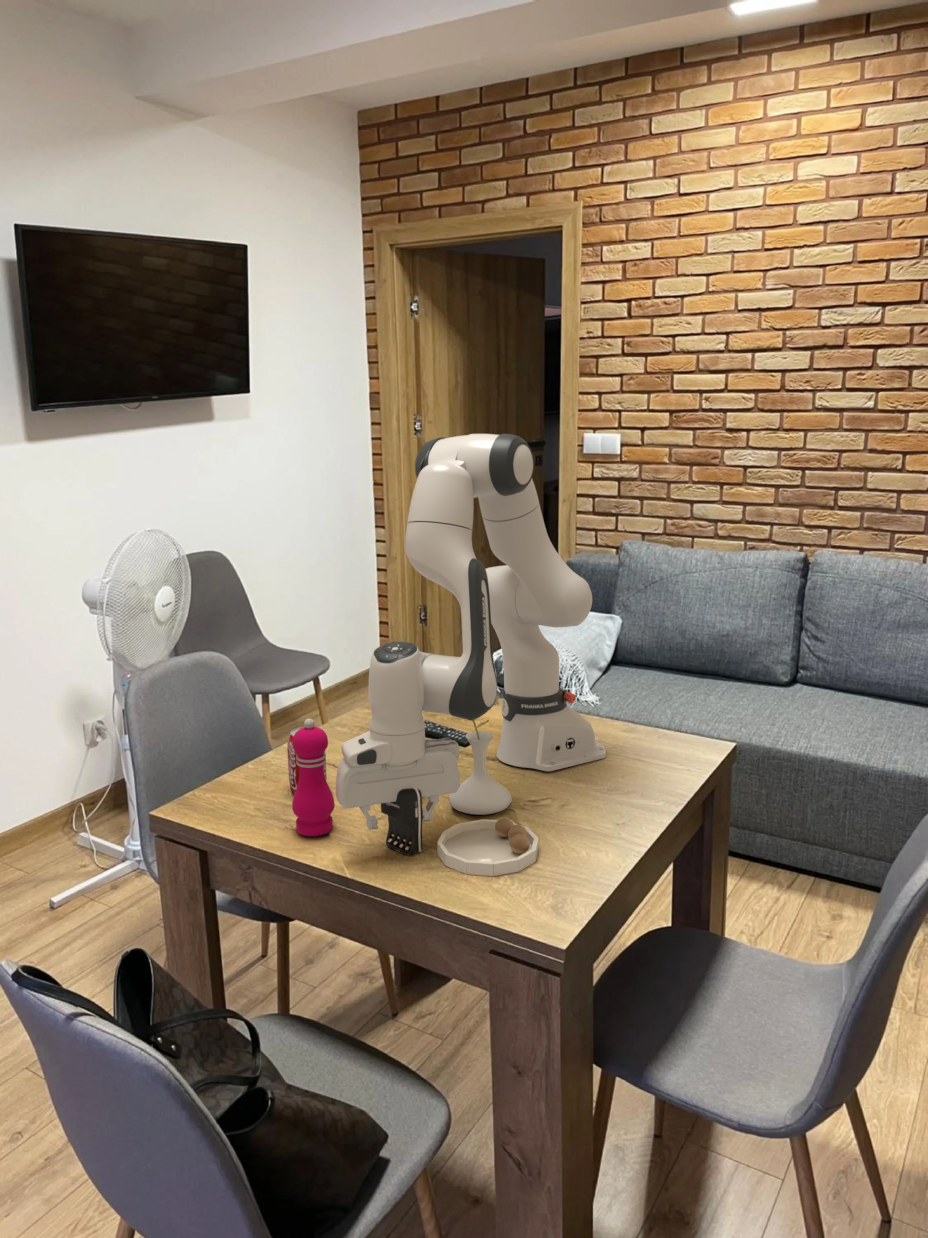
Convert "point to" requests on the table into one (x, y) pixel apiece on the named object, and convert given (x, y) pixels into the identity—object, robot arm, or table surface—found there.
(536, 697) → the robot arm
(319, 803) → the pepper mill
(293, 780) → the soda can
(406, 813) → the battery charger
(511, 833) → the bead
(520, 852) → the bead
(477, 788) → the flower in vase
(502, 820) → the bead
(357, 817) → the table surface
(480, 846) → the tray
